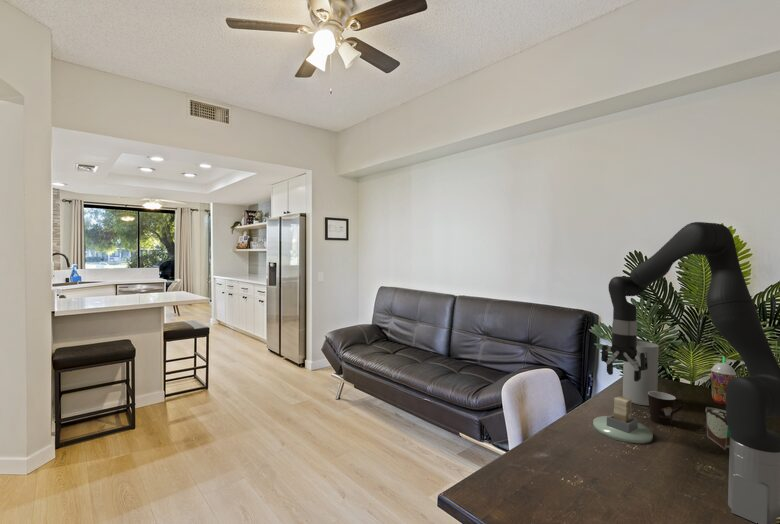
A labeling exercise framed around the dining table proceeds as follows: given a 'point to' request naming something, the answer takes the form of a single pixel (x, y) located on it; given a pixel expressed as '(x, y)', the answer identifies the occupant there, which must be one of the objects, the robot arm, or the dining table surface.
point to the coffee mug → (662, 407)
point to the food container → (718, 427)
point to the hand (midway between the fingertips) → (623, 377)
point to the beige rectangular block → (622, 409)
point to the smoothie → (721, 381)
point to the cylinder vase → (648, 376)
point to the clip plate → (623, 430)
